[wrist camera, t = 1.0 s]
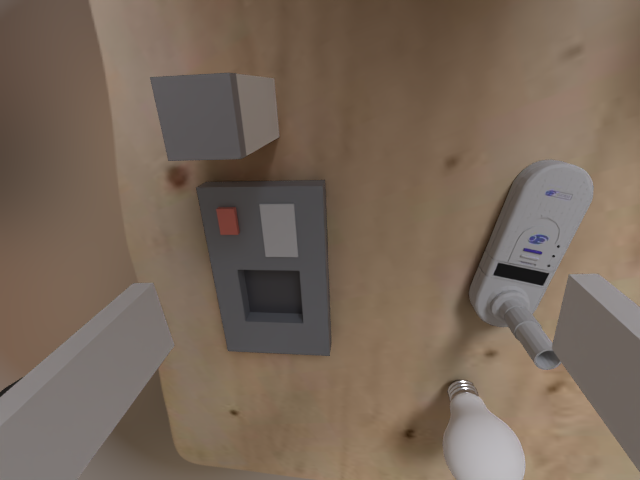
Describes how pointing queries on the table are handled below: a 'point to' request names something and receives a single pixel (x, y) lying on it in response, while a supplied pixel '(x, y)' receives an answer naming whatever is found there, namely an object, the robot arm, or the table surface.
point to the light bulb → (479, 439)
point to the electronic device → (530, 251)
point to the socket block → (270, 264)
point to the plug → (215, 115)
